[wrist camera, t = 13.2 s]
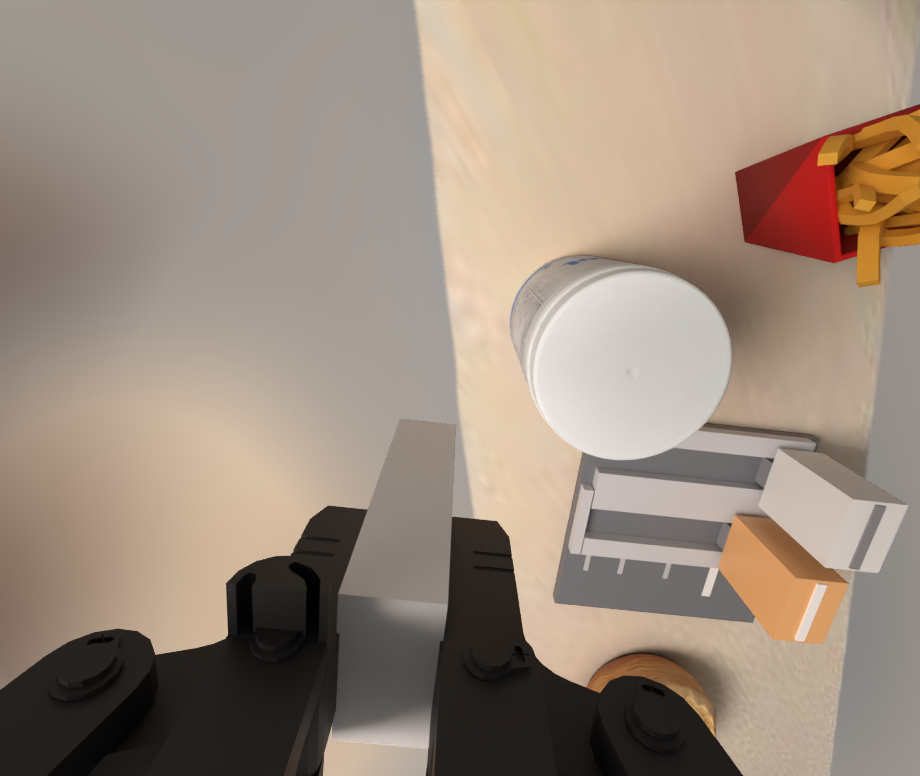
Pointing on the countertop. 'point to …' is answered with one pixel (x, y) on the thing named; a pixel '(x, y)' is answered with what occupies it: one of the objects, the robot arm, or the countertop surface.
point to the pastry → (661, 673)
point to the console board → (712, 520)
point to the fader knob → (779, 580)
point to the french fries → (839, 194)
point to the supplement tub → (619, 354)
